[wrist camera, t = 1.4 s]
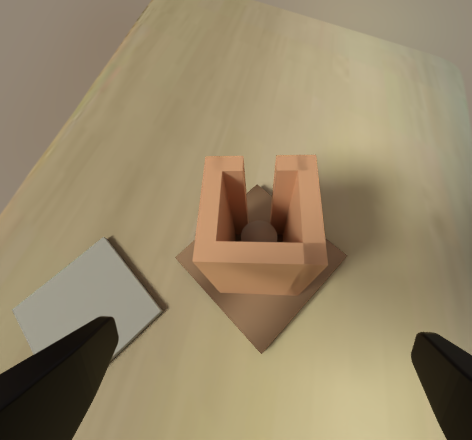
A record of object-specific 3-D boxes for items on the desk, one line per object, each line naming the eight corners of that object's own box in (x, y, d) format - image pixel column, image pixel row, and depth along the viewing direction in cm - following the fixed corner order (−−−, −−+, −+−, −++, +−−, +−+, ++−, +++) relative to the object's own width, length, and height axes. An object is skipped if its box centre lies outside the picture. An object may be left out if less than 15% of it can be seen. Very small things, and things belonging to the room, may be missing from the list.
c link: (297, 295, 19) (328, 265, 11) (220, 292, 19) (192, 261, 11) (294, 223, 21) (316, 154, 13) (225, 223, 22) (205, 156, 14)
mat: (163, 311, 20) (161, 310, 19) (64, 405, 18) (59, 406, 17) (106, 238, 23) (103, 236, 23) (17, 310, 21) (11, 309, 20)
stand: (344, 258, 20) (370, 235, 16) (261, 353, 18) (262, 359, 13) (257, 188, 24) (256, 152, 19) (177, 260, 22) (155, 238, 17)
